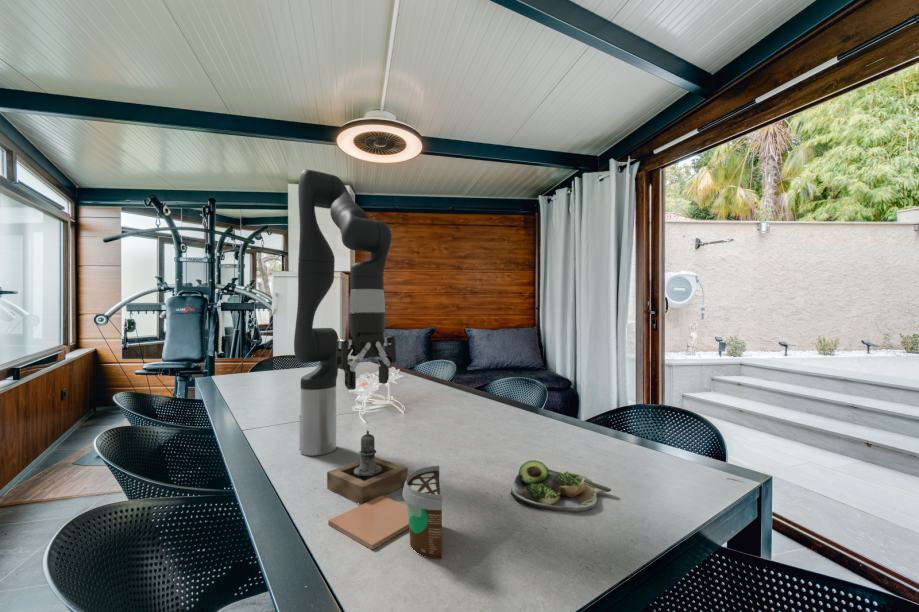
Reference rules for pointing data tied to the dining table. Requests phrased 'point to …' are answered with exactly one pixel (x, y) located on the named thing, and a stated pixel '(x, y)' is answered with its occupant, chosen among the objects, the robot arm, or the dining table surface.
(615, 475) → the dining table surface
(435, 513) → the food container
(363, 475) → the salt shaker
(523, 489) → the avocado toast plate
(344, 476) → the walnut socket block
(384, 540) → the terracotta tile
